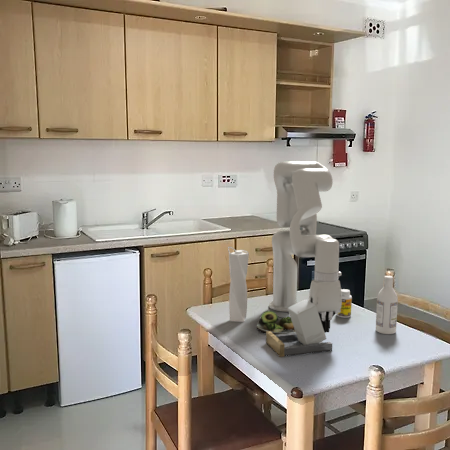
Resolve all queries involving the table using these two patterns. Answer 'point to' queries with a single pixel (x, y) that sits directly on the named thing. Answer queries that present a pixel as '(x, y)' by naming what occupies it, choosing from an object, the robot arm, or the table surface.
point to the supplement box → (307, 322)
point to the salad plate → (274, 323)
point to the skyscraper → (238, 285)
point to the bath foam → (387, 308)
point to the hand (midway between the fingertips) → (324, 331)
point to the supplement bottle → (345, 304)
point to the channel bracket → (293, 345)
